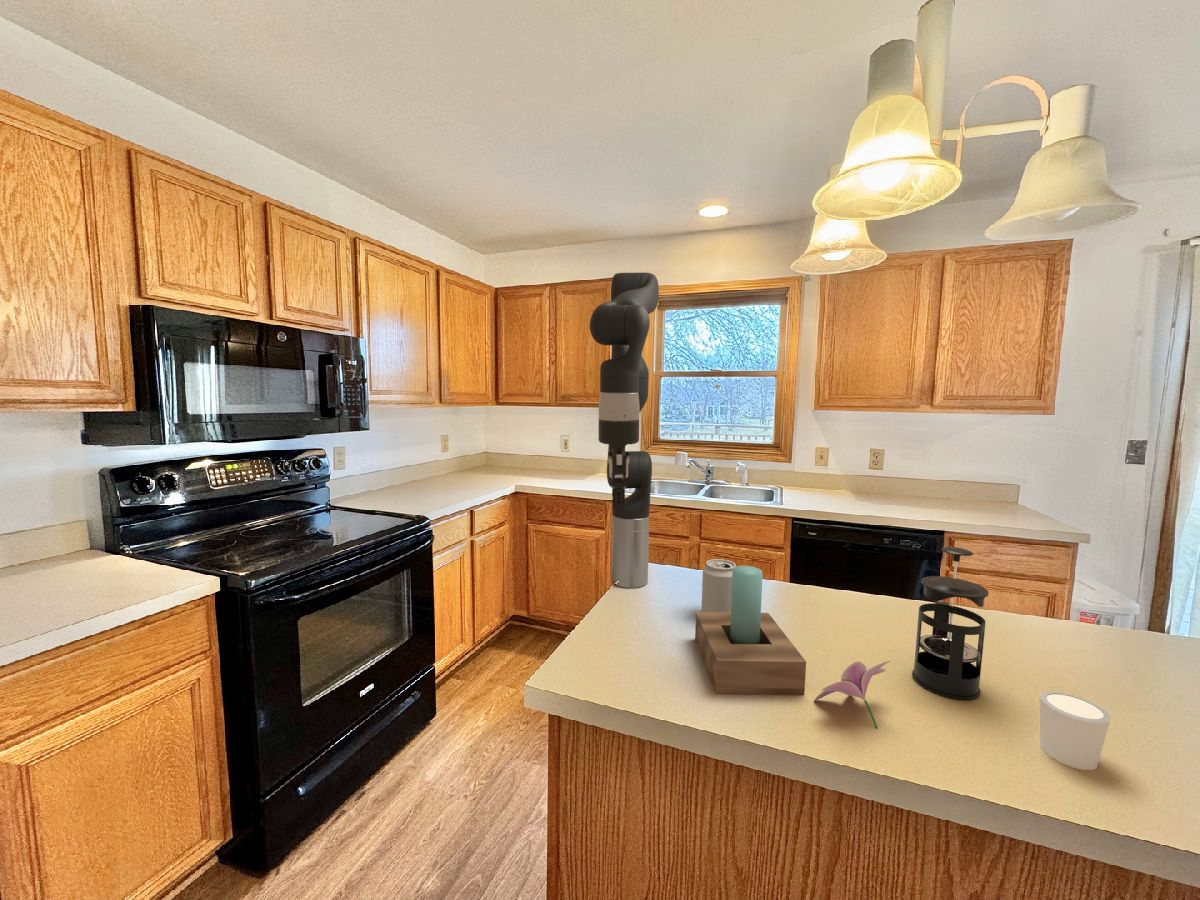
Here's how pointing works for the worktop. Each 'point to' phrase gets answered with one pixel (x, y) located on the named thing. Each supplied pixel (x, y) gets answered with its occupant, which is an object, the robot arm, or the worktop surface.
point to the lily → (854, 682)
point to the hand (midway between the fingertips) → (618, 502)
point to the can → (717, 586)
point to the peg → (746, 605)
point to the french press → (950, 637)
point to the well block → (749, 658)
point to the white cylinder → (1072, 729)
